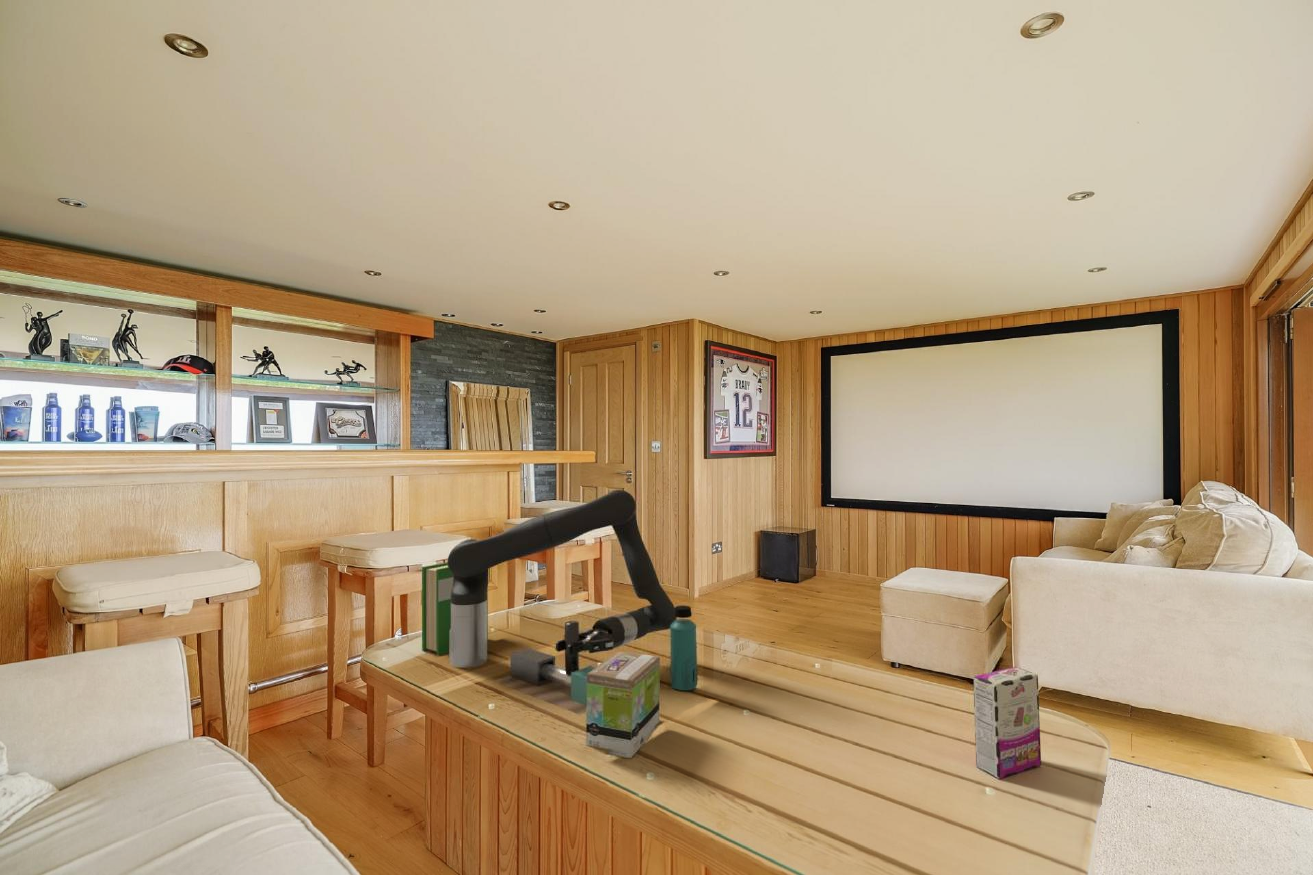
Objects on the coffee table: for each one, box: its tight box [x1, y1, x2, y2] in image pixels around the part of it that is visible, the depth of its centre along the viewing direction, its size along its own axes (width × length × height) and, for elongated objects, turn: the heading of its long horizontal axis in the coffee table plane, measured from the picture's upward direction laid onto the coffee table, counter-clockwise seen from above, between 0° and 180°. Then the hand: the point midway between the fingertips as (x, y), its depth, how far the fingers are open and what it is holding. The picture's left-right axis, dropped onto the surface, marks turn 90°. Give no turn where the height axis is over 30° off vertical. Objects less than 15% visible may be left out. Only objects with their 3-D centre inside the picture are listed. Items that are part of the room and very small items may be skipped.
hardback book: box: [421, 562, 489, 656], centre depth 183 cm, size 18×7×24 cm, turn 146°
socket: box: [571, 665, 597, 706], centre depth 140 cm, size 7×6×6 cm
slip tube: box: [540, 620, 580, 687], centre depth 145 cm, size 20×3×15 cm, turn 50°
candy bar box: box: [972, 666, 1042, 780], centre depth 111 cm, size 11×5×16 cm, turn 114°
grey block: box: [509, 647, 556, 687], centre depth 153 cm, size 10×5×6 cm, turn 50°
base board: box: [494, 675, 587, 715], centre depth 147 cm, size 30×14×1 cm, turn 50°
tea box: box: [585, 650, 661, 759], centre depth 123 cm, size 15×10×15 cm, turn 160°
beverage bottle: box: [669, 605, 699, 691], centre depth 147 cm, size 6×7×20 cm
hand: (562, 648), depth 141 cm, fingers open, 3 cm apart
